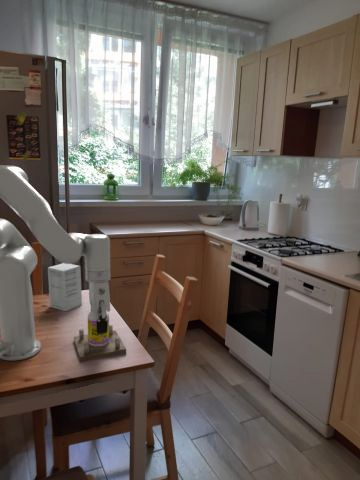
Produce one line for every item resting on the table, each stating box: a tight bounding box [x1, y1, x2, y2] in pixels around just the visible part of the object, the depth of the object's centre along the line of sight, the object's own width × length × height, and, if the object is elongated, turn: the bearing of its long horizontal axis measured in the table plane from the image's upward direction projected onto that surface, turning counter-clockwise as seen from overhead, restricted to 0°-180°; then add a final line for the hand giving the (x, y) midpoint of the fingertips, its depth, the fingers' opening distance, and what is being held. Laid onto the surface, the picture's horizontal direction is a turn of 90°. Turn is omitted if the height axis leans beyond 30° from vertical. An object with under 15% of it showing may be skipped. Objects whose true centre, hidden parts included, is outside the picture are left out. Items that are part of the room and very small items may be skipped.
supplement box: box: [47, 262, 83, 312], centre depth 150 cm, size 10×9×17 cm
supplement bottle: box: [87, 305, 110, 347], centre depth 117 cm, size 7×7×13 cm
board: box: [73, 324, 127, 363], centre depth 118 cm, size 14×14×4 cm
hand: (98, 326), depth 117 cm, fingers open, 9 cm apart
